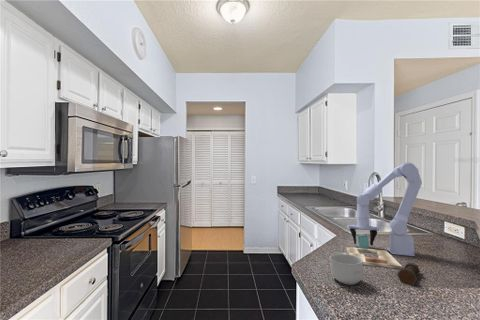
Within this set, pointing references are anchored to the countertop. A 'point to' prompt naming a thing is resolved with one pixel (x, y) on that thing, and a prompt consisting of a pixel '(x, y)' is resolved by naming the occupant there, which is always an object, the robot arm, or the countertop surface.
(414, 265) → the bolt
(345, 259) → the teacup
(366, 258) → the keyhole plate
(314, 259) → the countertop surface
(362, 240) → the slider block
